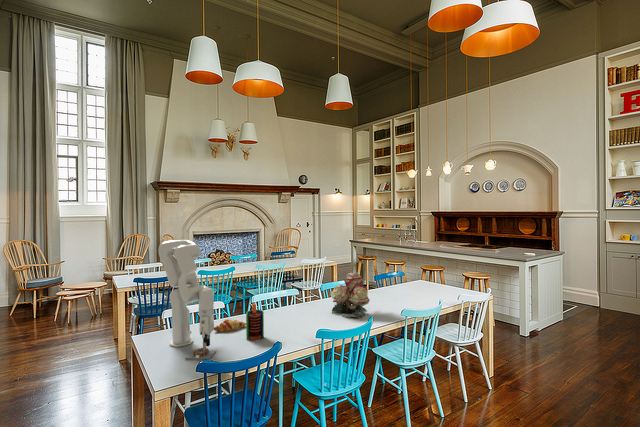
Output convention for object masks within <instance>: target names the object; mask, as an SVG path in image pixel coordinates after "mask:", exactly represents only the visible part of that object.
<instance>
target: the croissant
mask: <svg viewBox="0 0 640 427" xmlns="http://www.w3.org/2000/svg"><path fill="white" fill-rule="evenodd" d="M244 327H246V322H244V321H240V320H237V319H235V320H233V319H229V318H228V319H225V320H224V321H223V322H220V323H219V325H216V326H214V330H213V331H216V332H219V333H229V332H233V331H237V330H239V329H242V328H244Z"/></svg>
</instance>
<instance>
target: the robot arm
mask: <svg viewBox="0 0 640 427" xmlns="http://www.w3.org/2000/svg"><path fill="white" fill-rule="evenodd" d="M201 253H202V251H201V248H200V246H199V245H198V244H197V243H196V242H193V241H191V240H189V239H178V240H167V241H163V242H161V243H160V244H159V246H158V256H159V258H160V261H161V263H162V265H163V266H164V271H165V273H166V278H167V281H168V284H169V286H170V287H171V288H176V289H174V290H172V291H171V292H170V294H169V301H170V306H171V325H172V326H171V328H172V329H171V330H172V331H171V332H172V339H171V340H170V341H169V346H171V347H173V348H174V347H176V348H179V347H185V346H189V345H190V344H192V343H193V342H194V338H193V337H191V334H192V330H191V319H190V318H191V317H190V315H191V314H190V309H189V308H188V307H187V304H191V303H195V302H198V316H199V329H198V330H199V335H200V336H201V339H202V343H203V342H206V347H209V346H210V345H211V334H212V332H213V331H215V330H214V327H215V321H214V320H215V319H214V318H215V317H214V314H215V312H214V310H215V309H214V308H215V307H214V304H215V303H214V293H215V292H214V289H213V288H211V287H208V286H207V285H204V284H202V285H200V282H199V280H198V276H197V274H196V272H197V269H198V266H197V263H196V262H195V259H198V258H200V256H201ZM174 256H175V257H174Z"/></svg>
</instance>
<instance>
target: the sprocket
mask: <svg viewBox="0 0 640 427" xmlns="http://www.w3.org/2000/svg"><path fill="white" fill-rule="evenodd" d="M193 350H194V351H193ZM193 350H192V351H193V356H195V357H196V355H199V357H201V356H205V355H207V354H208V353H209V350H210V349H209V348H207V346H206V342H203V341H202V347H201V348H199V347H198V348H196V349H193Z"/></svg>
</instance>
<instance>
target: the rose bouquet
mask: <svg viewBox="0 0 640 427" xmlns="http://www.w3.org/2000/svg"><path fill="white" fill-rule="evenodd" d="M343 281H344V284H345V285H342V284H338V285H336V287H335V286H334V287H335V288H334V289H332V291H331V292H330V293H329V296H330V297H331V298H332V303H333V305H334V306H333V307H332V309H331V314H332V315H335V316H341V317H342V318H356V319H358V320H359V319H362V318H364V316H366V315H368V313H367V312H368V310H366V307H364V306H366V305H368V304H369V303H370V298H369V297H368V293H369V292H368V291H369V289H367V287H366V286H364V281H365V279H364V278H363V277H362V276H361V273H360V272H355V273H354V272H351V271H349V273H347V274H346V278H345V279H343Z"/></svg>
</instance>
